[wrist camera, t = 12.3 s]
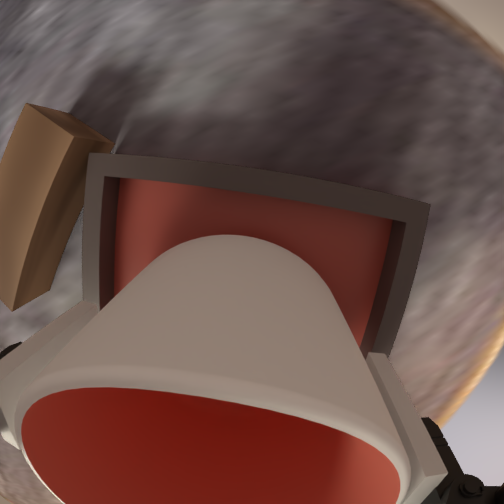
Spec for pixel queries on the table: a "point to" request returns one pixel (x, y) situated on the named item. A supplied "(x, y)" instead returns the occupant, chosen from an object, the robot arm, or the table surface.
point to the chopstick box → (41, 197)
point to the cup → (214, 391)
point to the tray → (254, 230)
